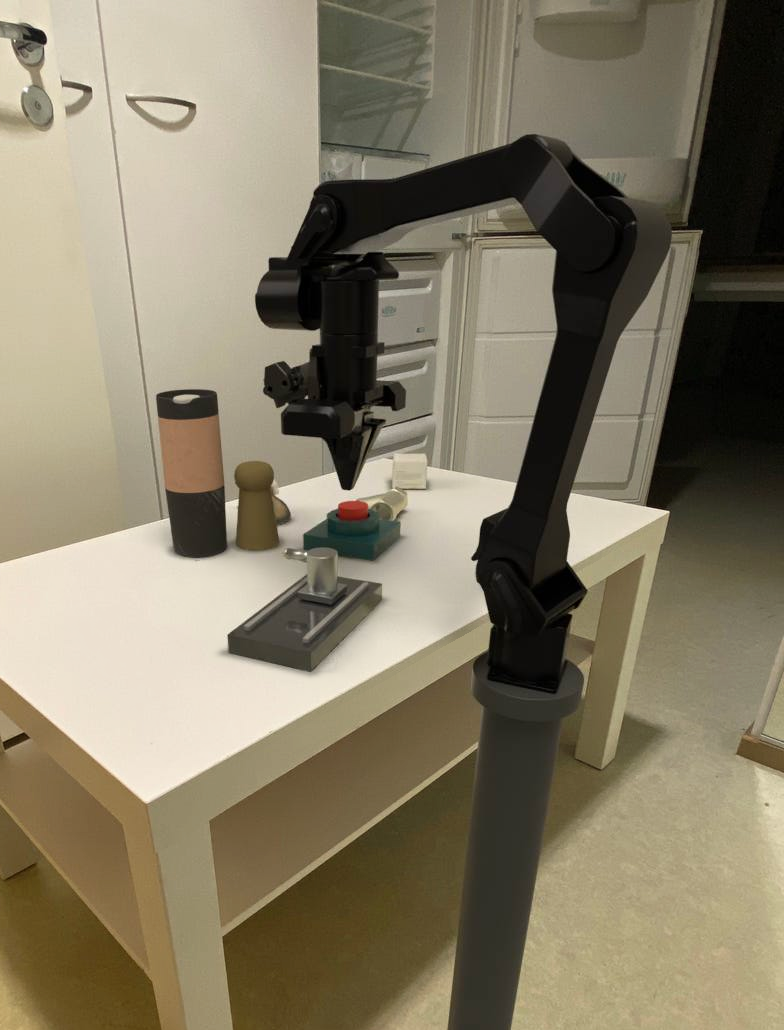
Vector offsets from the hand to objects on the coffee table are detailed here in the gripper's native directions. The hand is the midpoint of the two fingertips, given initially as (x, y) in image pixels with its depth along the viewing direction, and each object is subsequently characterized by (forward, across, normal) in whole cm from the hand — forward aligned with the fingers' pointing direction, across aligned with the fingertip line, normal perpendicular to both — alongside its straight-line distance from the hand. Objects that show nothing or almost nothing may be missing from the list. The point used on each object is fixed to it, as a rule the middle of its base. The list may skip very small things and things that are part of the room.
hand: (347, 489), depth 78 cm
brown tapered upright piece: (+12, -10, -18) cm, 24 cm away
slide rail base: (+12, +10, 0) cm, 15 cm away
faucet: (+10, +6, -1) cm, 12 cm away
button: (+8, -15, -6) cm, 19 cm away
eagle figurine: (+12, -22, -23) cm, 34 cm away
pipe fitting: (+12, -28, -7) cm, 31 cm away
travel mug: (+12, -6, -24) cm, 27 cm away
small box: (+12, -46, -9) cm, 49 cm away
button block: (+12, -16, -6) cm, 20 cm away
